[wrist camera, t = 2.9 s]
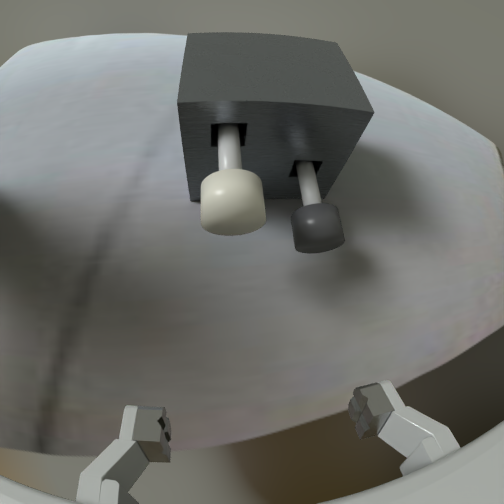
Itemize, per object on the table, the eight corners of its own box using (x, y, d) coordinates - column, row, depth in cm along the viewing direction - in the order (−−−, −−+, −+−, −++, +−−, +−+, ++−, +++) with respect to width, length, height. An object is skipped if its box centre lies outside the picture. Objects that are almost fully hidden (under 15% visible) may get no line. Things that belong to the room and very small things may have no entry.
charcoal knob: (334, 252, 29) (352, 233, 25) (290, 254, 29) (302, 235, 24) (317, 169, 33) (329, 143, 28) (277, 168, 32) (285, 141, 28)
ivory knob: (261, 234, 24) (270, 205, 19) (202, 236, 23) (199, 208, 19) (251, 138, 27) (256, 103, 23) (202, 139, 26) (200, 103, 22)
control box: (324, 198, 36) (374, 112, 22) (190, 201, 34) (177, 102, 20) (306, 127, 40) (336, 42, 26) (192, 126, 38) (187, 33, 24)
